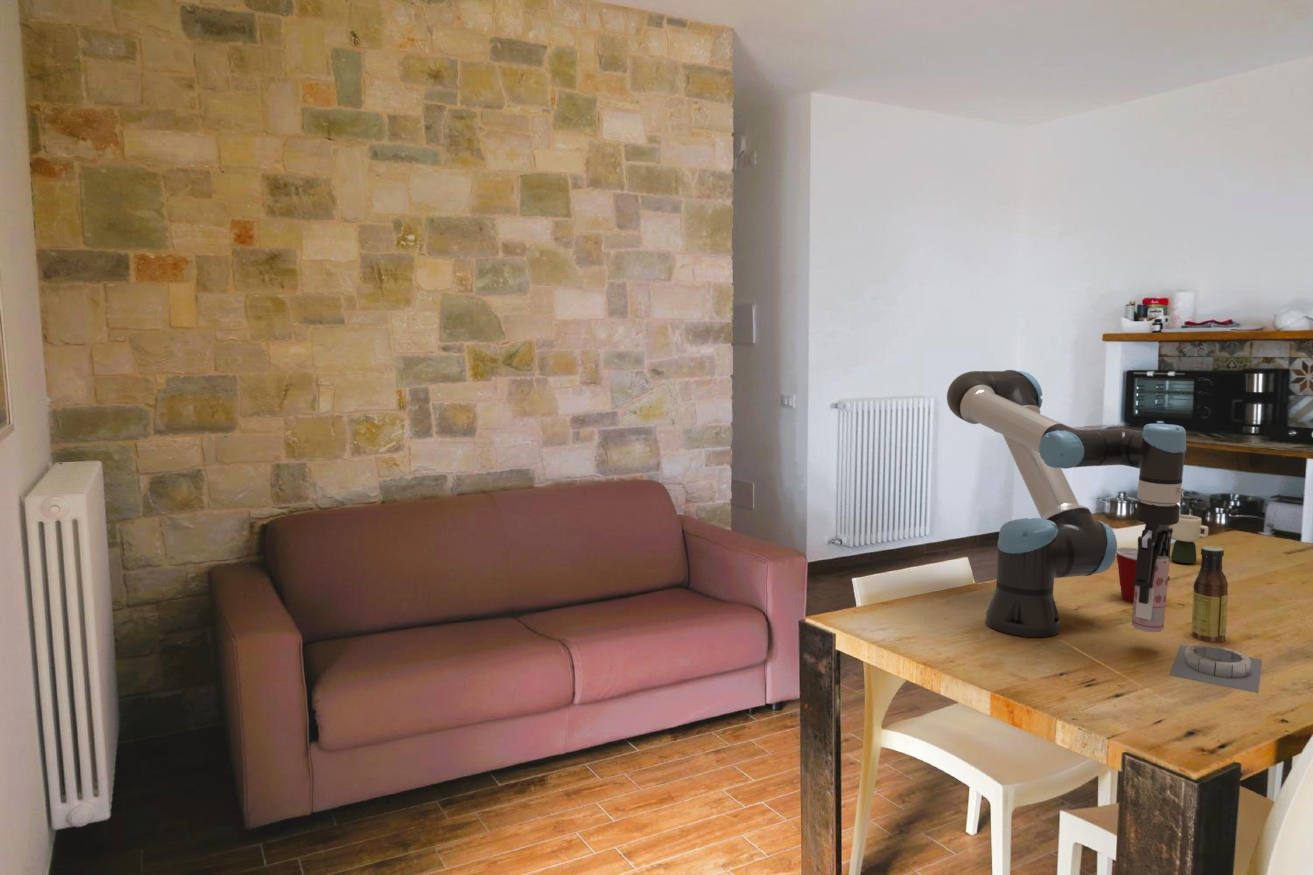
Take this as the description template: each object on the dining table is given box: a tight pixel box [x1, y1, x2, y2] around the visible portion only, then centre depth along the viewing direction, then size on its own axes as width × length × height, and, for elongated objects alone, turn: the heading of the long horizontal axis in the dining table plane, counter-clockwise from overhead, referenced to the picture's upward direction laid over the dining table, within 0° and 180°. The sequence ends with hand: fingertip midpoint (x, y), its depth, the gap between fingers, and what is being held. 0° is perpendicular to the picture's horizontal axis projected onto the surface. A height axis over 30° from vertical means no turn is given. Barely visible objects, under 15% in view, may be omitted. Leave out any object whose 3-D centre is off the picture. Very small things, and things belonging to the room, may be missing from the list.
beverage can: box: [1131, 555, 1170, 633], centre depth 180 cm, size 6×6×15 cm
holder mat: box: [1169, 644, 1263, 694], centre depth 173 cm, size 20×14×1 cm
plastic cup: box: [1115, 546, 1138, 604], centre depth 216 cm, size 11×11×12 cm
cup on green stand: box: [1170, 514, 1209, 564], centre depth 250 cm, size 11×7×13 cm, turn 44°
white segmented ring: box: [1185, 644, 1251, 678], centre depth 173 cm, size 10×10×2 cm
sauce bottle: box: [1191, 545, 1229, 643], centre depth 188 cm, size 7×6×20 cm
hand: (1148, 614), depth 181 cm, fingers closed on beverage can, 6 cm apart
